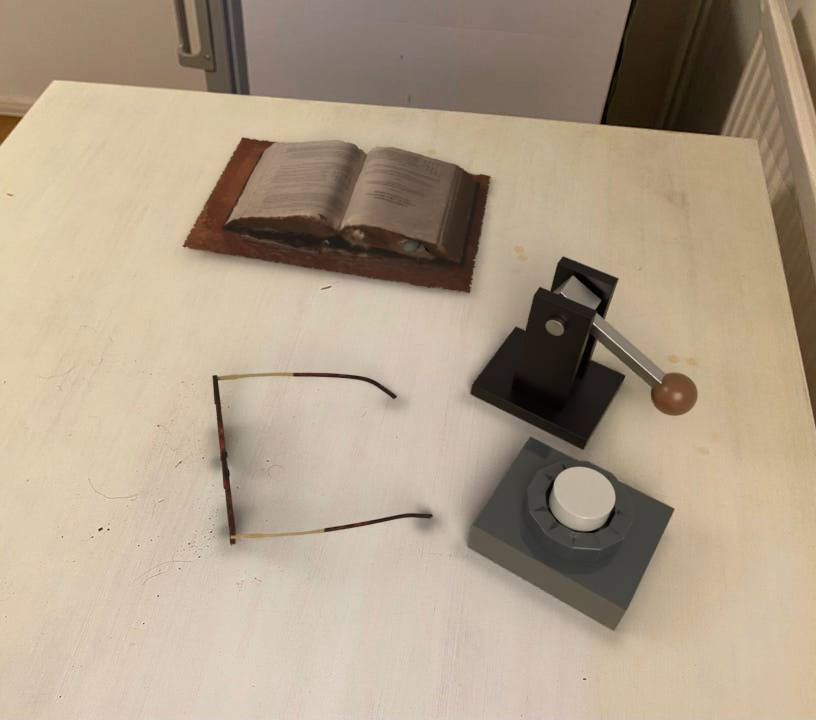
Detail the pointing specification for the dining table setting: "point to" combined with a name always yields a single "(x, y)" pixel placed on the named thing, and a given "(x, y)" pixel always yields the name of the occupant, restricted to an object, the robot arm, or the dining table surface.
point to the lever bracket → (555, 362)
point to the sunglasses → (227, 474)
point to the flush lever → (636, 357)
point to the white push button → (582, 499)
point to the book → (346, 211)
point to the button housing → (569, 536)
